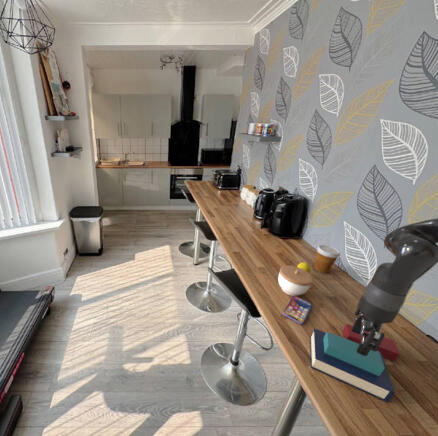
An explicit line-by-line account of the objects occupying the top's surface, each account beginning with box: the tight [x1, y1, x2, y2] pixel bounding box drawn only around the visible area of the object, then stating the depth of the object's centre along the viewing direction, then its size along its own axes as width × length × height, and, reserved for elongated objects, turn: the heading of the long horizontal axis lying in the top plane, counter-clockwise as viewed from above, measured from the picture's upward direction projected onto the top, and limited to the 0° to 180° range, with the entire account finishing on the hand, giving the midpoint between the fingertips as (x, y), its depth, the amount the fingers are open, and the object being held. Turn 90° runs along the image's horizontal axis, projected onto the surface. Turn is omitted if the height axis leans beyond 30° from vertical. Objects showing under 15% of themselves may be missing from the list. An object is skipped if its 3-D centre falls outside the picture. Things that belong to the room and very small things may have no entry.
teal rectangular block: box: [323, 331, 385, 376], centre depth 71 cm, size 13×6×4 cm, turn 59°
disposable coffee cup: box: [313, 244, 341, 274], centre depth 119 cm, size 10×10×12 cm
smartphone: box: [282, 295, 313, 325], centre depth 95 cm, size 1×7×15 cm
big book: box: [309, 327, 396, 403], centre depth 73 cm, size 18×13×4 cm
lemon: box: [296, 261, 311, 274], centre depth 114 cm, size 6×6×8 cm
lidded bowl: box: [277, 265, 314, 297], centre depth 103 cm, size 13×13×11 cm
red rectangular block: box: [342, 323, 401, 362], centre depth 80 cm, size 13×6×4 cm, turn 59°
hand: (358, 342), depth 69 cm, fingers open, 8 cm apart
